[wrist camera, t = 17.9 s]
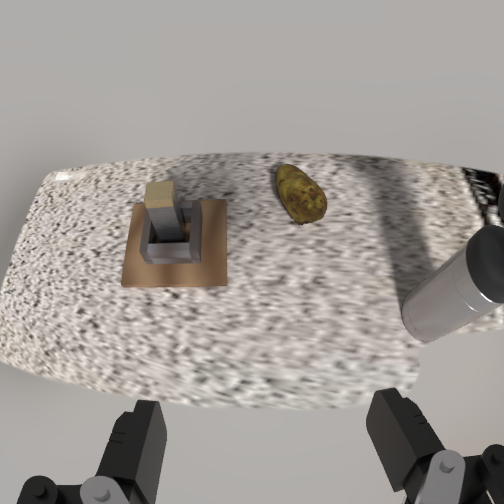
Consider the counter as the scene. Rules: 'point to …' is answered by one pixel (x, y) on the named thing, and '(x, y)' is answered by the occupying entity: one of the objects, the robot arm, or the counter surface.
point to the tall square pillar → (165, 211)
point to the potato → (300, 194)
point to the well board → (178, 249)
